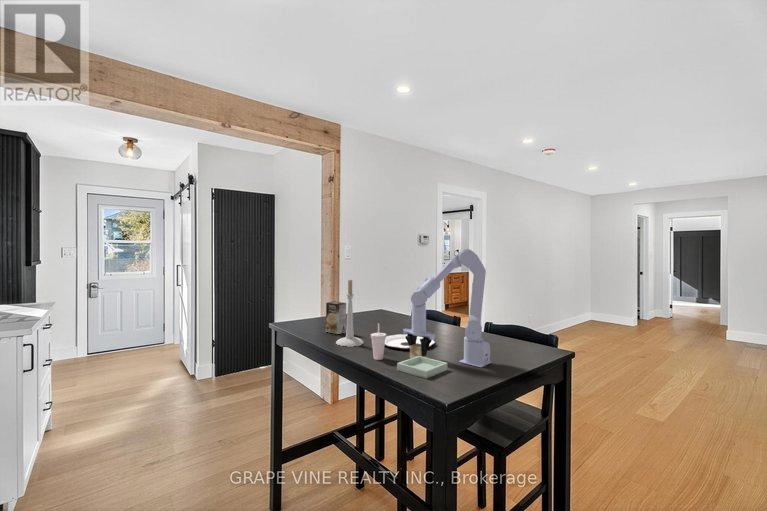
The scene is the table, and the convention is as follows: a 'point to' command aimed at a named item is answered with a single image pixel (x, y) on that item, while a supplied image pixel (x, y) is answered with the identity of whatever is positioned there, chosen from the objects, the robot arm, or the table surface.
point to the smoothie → (378, 344)
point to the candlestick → (349, 324)
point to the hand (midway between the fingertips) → (418, 354)
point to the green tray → (422, 367)
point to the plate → (401, 341)
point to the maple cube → (416, 350)
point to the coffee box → (336, 317)
